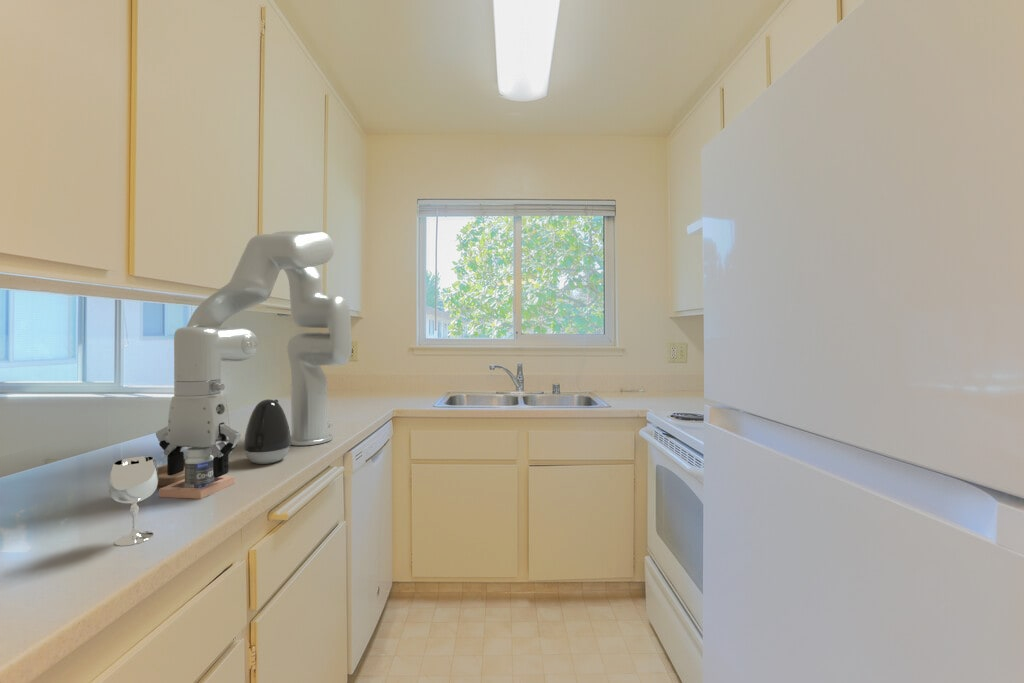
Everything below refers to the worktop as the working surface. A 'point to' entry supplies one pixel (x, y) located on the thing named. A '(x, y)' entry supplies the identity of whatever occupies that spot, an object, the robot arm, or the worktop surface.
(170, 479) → the tray
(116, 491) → the wineglass
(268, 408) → the pump dispenser
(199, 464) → the pill bottle
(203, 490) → the frame
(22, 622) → the worktop surface
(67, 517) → the worktop surface
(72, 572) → the worktop surface
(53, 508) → the worktop surface
